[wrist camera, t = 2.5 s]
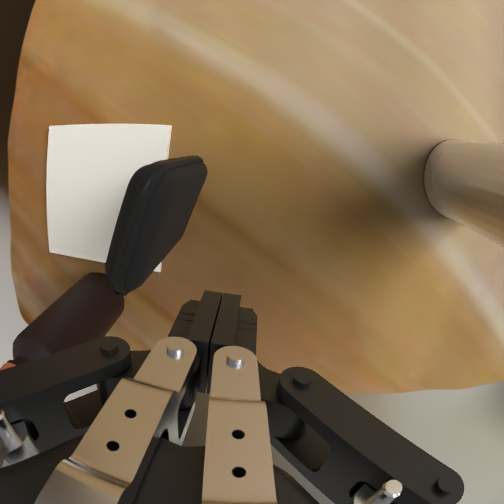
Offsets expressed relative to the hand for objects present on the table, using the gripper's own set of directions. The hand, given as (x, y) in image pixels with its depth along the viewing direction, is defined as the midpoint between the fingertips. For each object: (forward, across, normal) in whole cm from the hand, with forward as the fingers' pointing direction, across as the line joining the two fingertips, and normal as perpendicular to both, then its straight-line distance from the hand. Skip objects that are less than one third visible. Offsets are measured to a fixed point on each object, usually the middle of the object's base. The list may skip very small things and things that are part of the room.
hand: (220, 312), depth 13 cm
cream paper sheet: (+20, +17, 0) cm, 26 cm away
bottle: (+20, +17, +13) cm, 30 cm away
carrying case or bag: (+20, +7, 0) cm, 21 cm away
